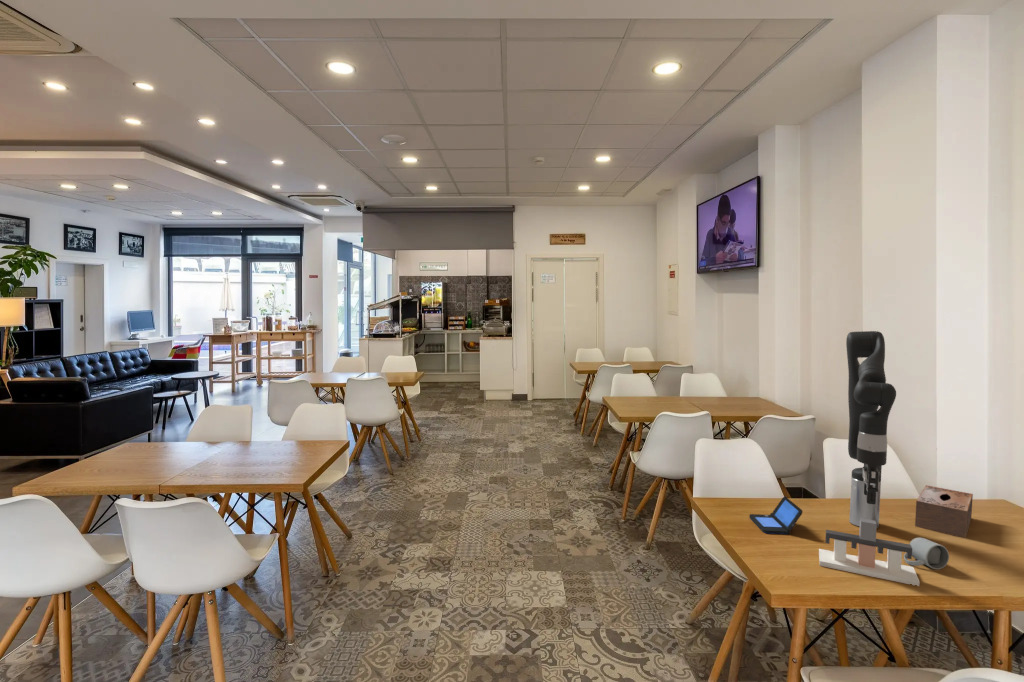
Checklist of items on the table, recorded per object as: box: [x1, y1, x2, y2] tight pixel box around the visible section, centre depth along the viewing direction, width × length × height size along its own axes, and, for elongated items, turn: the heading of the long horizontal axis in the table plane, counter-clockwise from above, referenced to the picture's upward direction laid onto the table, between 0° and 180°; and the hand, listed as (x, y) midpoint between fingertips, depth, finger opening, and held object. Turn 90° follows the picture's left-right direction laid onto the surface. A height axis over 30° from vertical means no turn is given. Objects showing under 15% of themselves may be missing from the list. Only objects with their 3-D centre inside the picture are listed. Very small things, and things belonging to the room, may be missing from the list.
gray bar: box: [825, 518, 913, 560], centre depth 164 cm, size 3×22×9 cm, turn 61°
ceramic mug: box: [903, 537, 950, 570], centre depth 168 cm, size 11×8×8 cm
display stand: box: [818, 539, 920, 587], centre depth 164 cm, size 10×25×8 cm, turn 61°
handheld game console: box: [749, 496, 803, 535], centre depth 197 cm, size 16×13×9 cm
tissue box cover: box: [914, 485, 974, 539], centre depth 202 cm, size 26×14×10 cm, turn 136°
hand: (869, 499), depth 163 cm, fingers open, 8 cm apart
